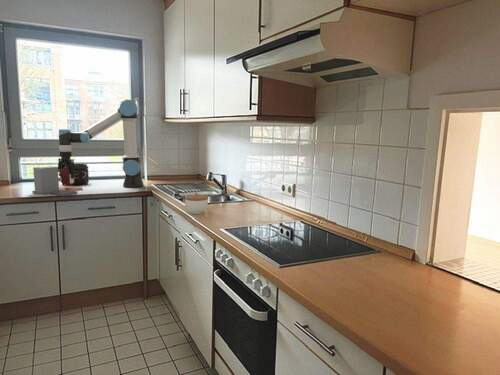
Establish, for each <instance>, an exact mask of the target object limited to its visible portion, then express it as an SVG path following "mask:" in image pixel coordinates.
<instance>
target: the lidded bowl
mask: <svg viewBox="0 0 500 375" xmlns="http://www.w3.org/2000/svg"><path fill="white" fill-rule="evenodd" d="M208 202H209V195H207V194H199V193H198V192H195V193H194V194H188V195H187V194H186V195H185V196H184V204H185V208H186V210H187V211H188V212H189V213H190V214H192V215H201V214H203V213H204V212H205V211H206V209H207V208H208Z"/></svg>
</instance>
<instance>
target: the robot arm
mask: <svg viewBox="0 0 500 375" xmlns="http://www.w3.org/2000/svg"><path fill="white" fill-rule="evenodd" d="M121 121H122V125H123V126H122V128H123V130H122V131H123V132H122V133H123V142H124V143H123V145H124V146H123V148H124V154H123V155H124V156H122V170H123V172H124V173H125V176H124V181H123V183H122V187H123V188H127V189H133V188H134V189H135V188H137V189H138V188H142V187H144V185H145V184H144V182H143V178H142V165H141V164H142V160H141V159H142V158H141V157H140V156H139V154H138V147H137V130H136V129H137V128H136V121H138V106H137V104H136V103H135V101H134V100H131V99H123V100H122V101H120V104H119V106H118V107H117V108H116V109H115V111H113V112H112V113H110V114H109V115H107V116H106V117H103V119H101V120H99V121H98V122H95V123H94V124H92V125H91V126H89V127H88V128H86V129H85V130H83V131H78V132H77V131H71V129H70V128H59V129H58V142H59V143H58V144H59V145H58V146H59V148H58V149H59V158H58V161H57V162H58V163H57V167H58V174H59V173H60V169H63V168H64V167H65V165H66V166H67V167H68V169H69V172H70V174H69V177H70V183H74V173H76V170H75V166H74V164H75V160H74V159H73V158H72V159H71V157H72V156H73V155H72V154H73V153H72V144H73V143H74V144H77V143H78V144H88V143H90V140H92V139H93V138H95V137H96V136H98V135H100V134H102V133H103V132H104V131H106V130H108V129H109V128H111V127H113V126H114V125H116V124H118V123H119V122H121ZM59 183H62V180H61V176H59Z"/></svg>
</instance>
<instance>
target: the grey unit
mask: <svg viewBox="0 0 500 375" xmlns="http://www.w3.org/2000/svg"><path fill="white" fill-rule="evenodd" d="M32 169H33V184H34V190H32V191H31V193H32V194H36V195H39V196H40V195H42V196H50V195H52V192H57V191H61V190H59V187H60V185H59V184H60V178H59V172H58V166H54V165H53V166H51V165H49V166H37V167H32Z"/></svg>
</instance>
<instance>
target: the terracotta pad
mask: <svg viewBox="0 0 500 375" xmlns="http://www.w3.org/2000/svg"><path fill="white" fill-rule="evenodd" d="M59 190H61V191H64V190H70V191H76V192H78V191H83V190H84V189H83V187H81V186H68V185H65V186H59Z"/></svg>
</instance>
